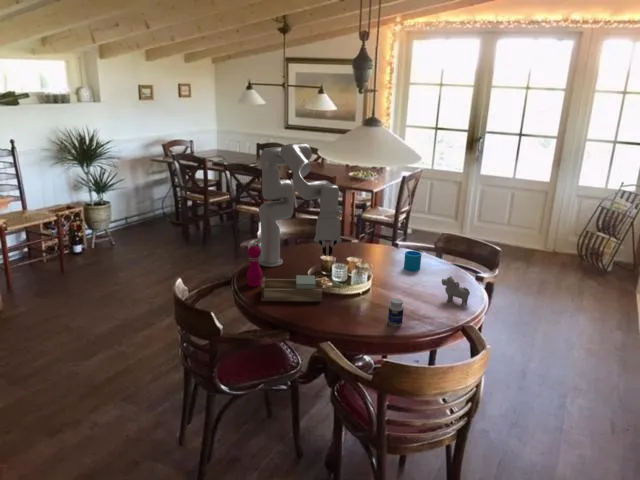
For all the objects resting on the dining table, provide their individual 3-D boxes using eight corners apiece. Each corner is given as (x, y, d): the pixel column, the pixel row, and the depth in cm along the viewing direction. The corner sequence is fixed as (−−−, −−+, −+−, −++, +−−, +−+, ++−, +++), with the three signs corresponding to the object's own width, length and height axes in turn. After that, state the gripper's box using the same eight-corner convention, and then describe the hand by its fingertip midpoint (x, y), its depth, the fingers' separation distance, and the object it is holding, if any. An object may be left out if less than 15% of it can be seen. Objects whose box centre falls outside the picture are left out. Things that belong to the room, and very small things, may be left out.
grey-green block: (296, 288, 235) (296, 275, 233) (314, 288, 236) (314, 275, 234) (296, 296, 227) (296, 283, 225) (315, 296, 227) (315, 283, 225)
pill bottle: (390, 327, 206) (392, 304, 203) (385, 320, 211) (387, 297, 208) (404, 326, 207) (406, 303, 204) (399, 319, 212) (401, 297, 209)
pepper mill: (259, 288, 238) (259, 246, 231) (244, 286, 239) (244, 244, 233) (264, 282, 244) (264, 241, 238) (249, 280, 246) (249, 239, 240)
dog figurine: (442, 295, 236) (444, 273, 233) (470, 303, 229) (472, 280, 226) (437, 299, 232) (439, 276, 229) (465, 307, 225) (468, 284, 222)
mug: (420, 272, 263) (422, 256, 260) (404, 271, 263) (405, 255, 261) (418, 263, 274) (420, 248, 272) (402, 262, 275) (404, 247, 272)
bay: (262, 289, 236) (262, 276, 234) (320, 290, 238) (321, 277, 236) (261, 300, 225) (261, 287, 223) (321, 301, 226) (322, 288, 224)
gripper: (346, 211, 224) (344, 252, 230) (309, 211, 224) (308, 251, 229) (348, 216, 217) (346, 258, 223) (310, 215, 216) (309, 257, 222)
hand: (327, 254), depth 226 cm, fingers closed
